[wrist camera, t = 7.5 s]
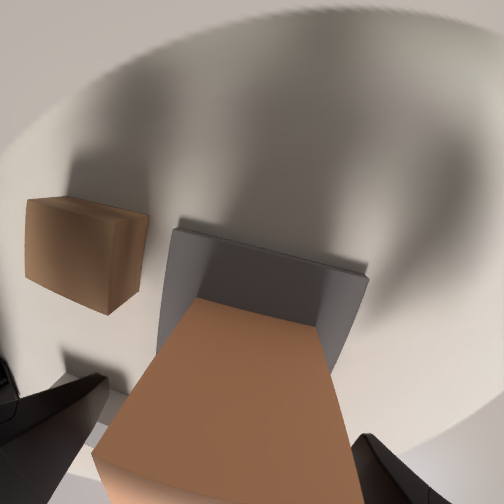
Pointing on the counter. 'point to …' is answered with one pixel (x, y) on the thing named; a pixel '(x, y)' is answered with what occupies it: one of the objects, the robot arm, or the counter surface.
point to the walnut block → (85, 250)
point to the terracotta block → (231, 418)
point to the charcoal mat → (259, 287)
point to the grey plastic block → (106, 415)
